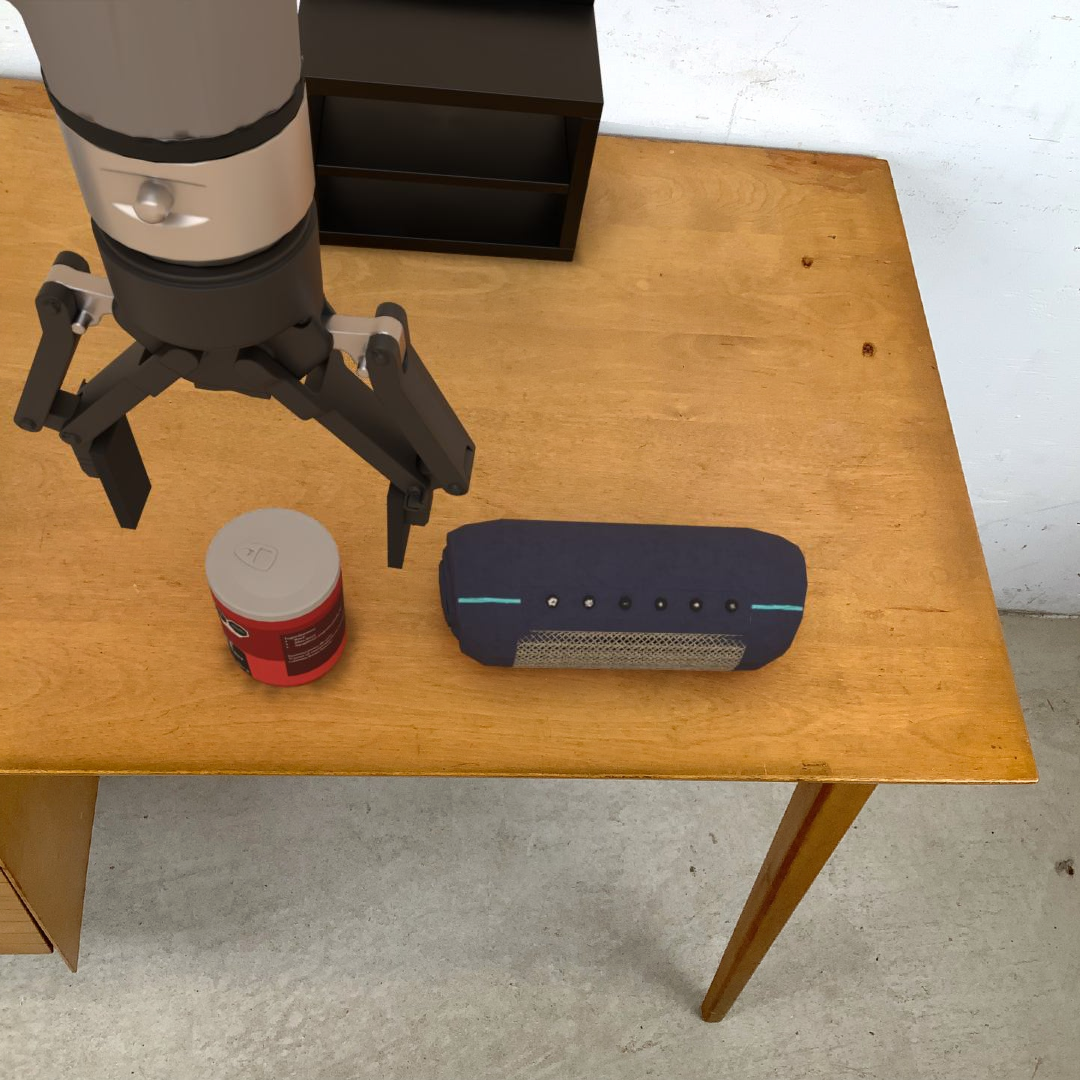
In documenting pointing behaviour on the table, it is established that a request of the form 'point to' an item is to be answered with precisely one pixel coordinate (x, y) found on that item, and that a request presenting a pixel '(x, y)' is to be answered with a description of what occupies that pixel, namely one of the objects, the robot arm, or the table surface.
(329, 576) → the canned food
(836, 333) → the table surface
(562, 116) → the rack
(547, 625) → the portable speaker
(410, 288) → the table surface
